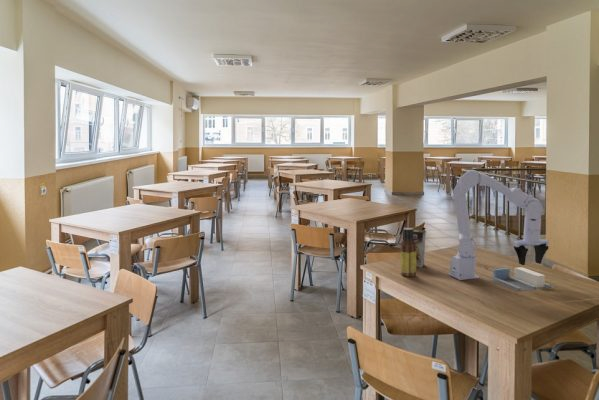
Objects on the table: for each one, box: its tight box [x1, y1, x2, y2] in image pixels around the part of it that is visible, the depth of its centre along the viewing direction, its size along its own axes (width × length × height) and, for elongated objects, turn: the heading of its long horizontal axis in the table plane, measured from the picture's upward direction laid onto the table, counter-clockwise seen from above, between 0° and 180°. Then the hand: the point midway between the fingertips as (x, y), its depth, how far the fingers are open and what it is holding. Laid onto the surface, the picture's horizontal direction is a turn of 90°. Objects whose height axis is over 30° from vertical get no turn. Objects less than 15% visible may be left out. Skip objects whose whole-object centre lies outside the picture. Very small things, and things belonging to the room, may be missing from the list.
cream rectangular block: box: [513, 266, 546, 288], centre depth 178 cm, size 4×12×4 cm, turn 15°
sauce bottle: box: [400, 227, 417, 277], centre depth 189 cm, size 7×6×20 cm
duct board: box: [488, 267, 557, 292], centre depth 178 cm, size 18×16×4 cm
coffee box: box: [402, 228, 427, 268], centre depth 205 cm, size 9×6×16 cm
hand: (530, 263), depth 178 cm, fingers open, 7 cm apart
